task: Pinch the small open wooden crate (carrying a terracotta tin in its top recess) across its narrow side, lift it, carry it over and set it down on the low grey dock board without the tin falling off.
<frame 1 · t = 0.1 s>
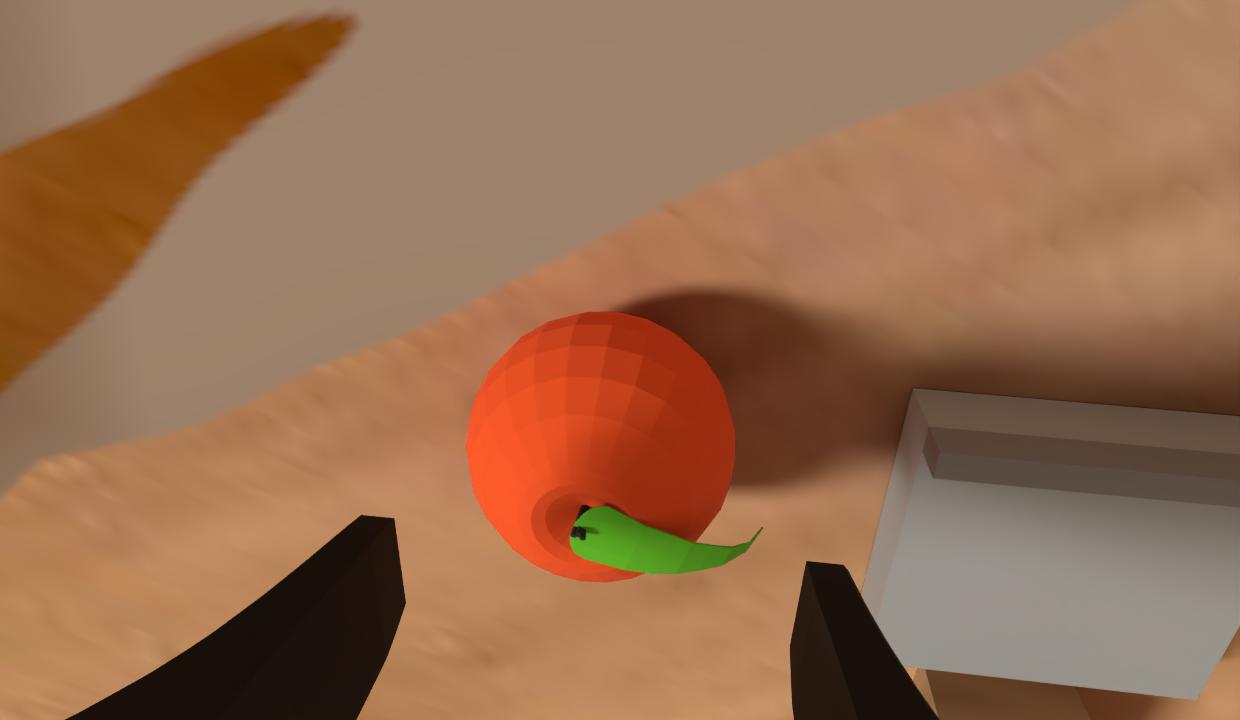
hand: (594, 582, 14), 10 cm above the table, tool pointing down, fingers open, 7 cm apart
dock: (1047, 527, 24), on the table
red fruit: (634, 381, 23), on the table
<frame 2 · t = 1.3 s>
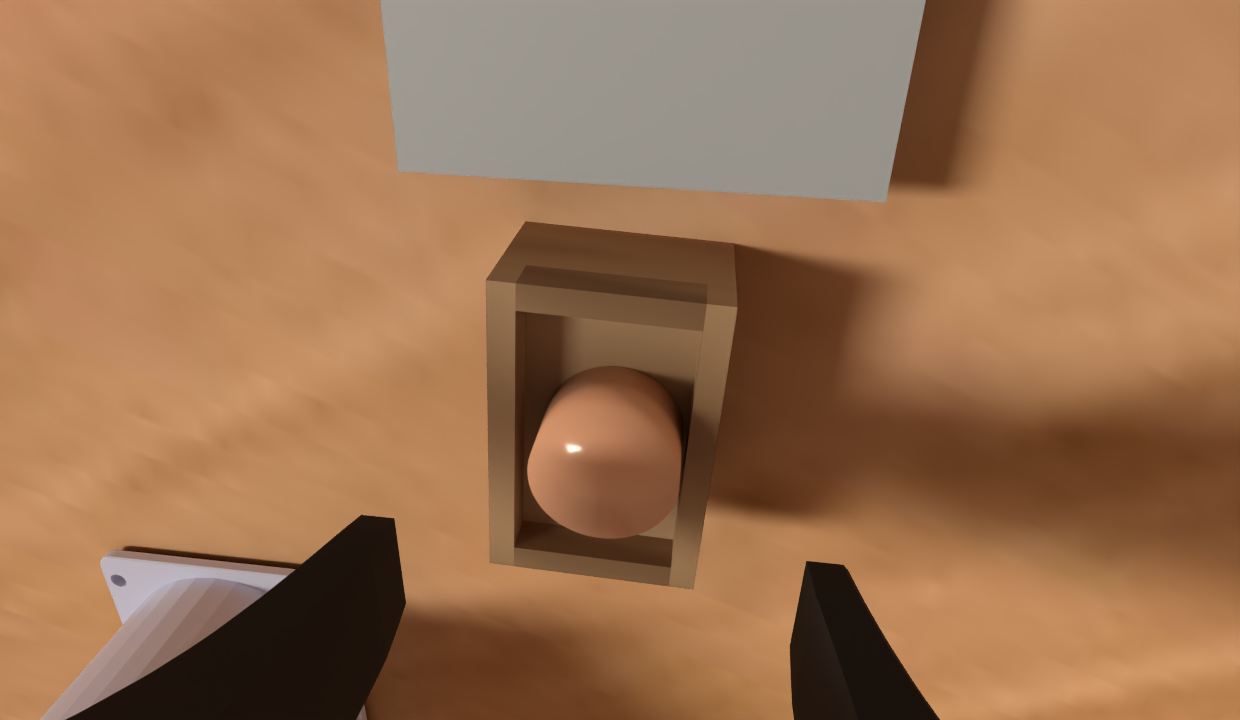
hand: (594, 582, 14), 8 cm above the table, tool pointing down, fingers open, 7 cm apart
open wooden crate: (619, 363, 21), on the table, touching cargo
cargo: (614, 426, 18), point 3 cm above the table, touching open wooden crate
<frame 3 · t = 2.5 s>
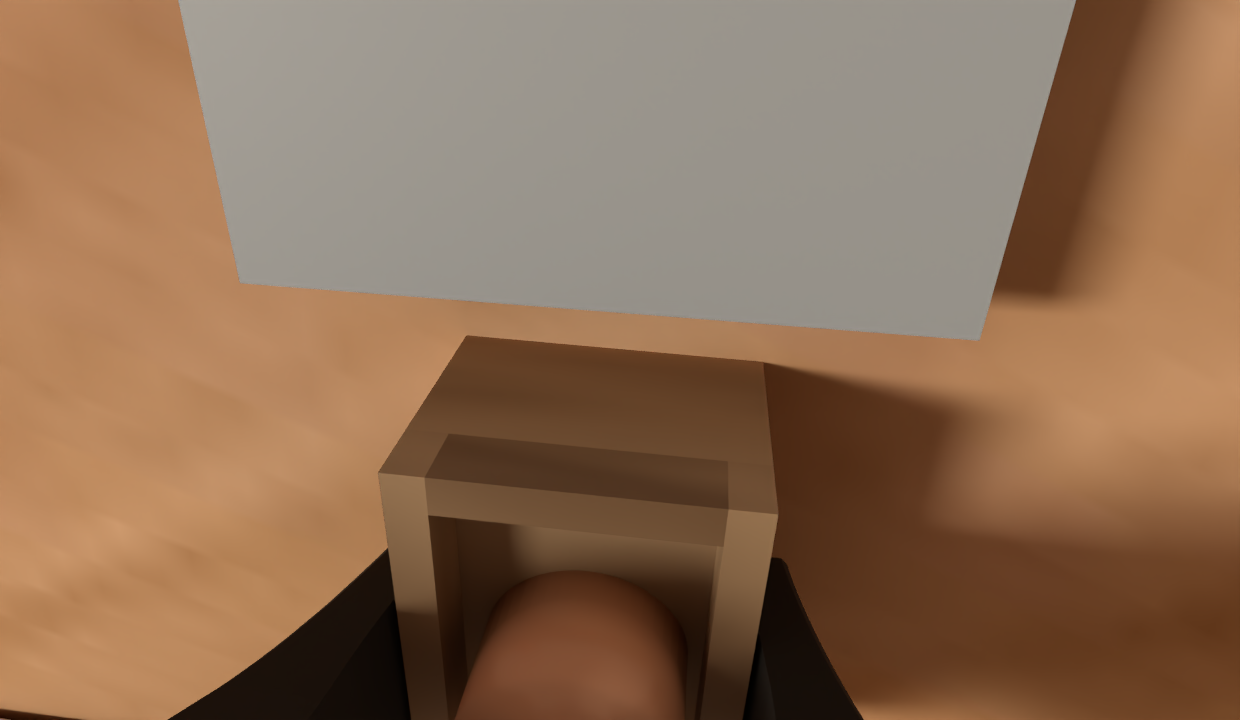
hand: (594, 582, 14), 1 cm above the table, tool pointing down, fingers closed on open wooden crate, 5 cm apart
open wooden crate: (606, 519, 15), on the table, touching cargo, gripper
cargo: (586, 646, 12), point 3 cm above the table, touching open wooden crate
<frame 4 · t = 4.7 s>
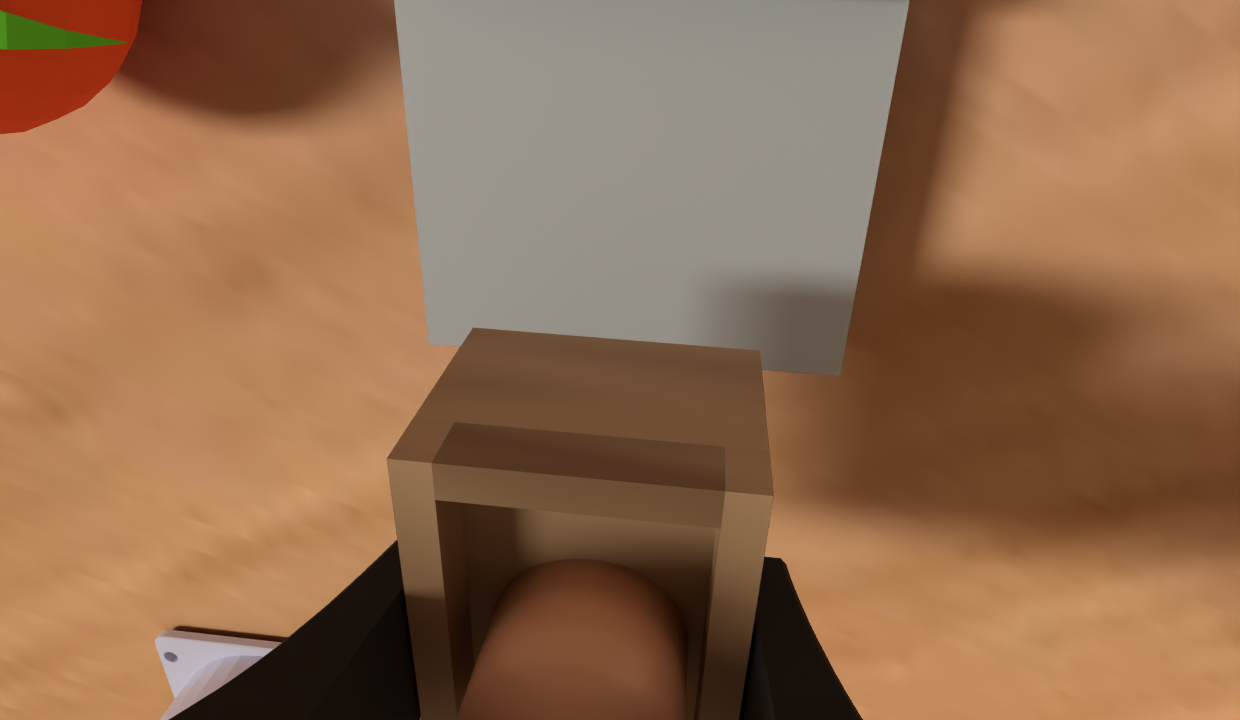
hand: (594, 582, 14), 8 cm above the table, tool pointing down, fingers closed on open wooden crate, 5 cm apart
open wooden crate: (608, 510, 15), point 7 cm above the table, touching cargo, gripper
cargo: (589, 633, 13), point 10 cm above the table, touching open wooden crate
dock: (644, 152, 18), on the table
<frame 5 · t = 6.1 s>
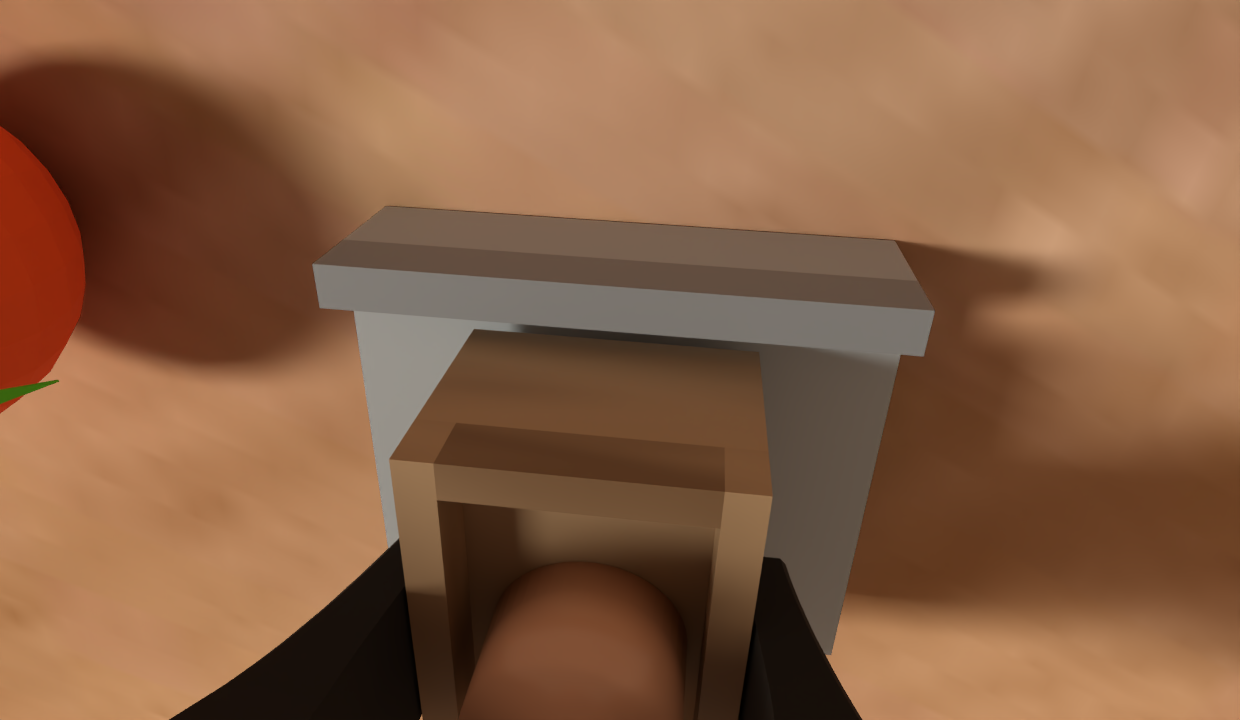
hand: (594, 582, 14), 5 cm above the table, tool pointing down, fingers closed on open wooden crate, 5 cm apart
open wooden crate: (608, 510, 15), point 3 cm above the table, touching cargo, gripper
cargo: (589, 635, 13), point 6 cm above the table, touching open wooden crate
dock: (625, 416, 17), on the table
red fruit: (37, 210, 17), on the table
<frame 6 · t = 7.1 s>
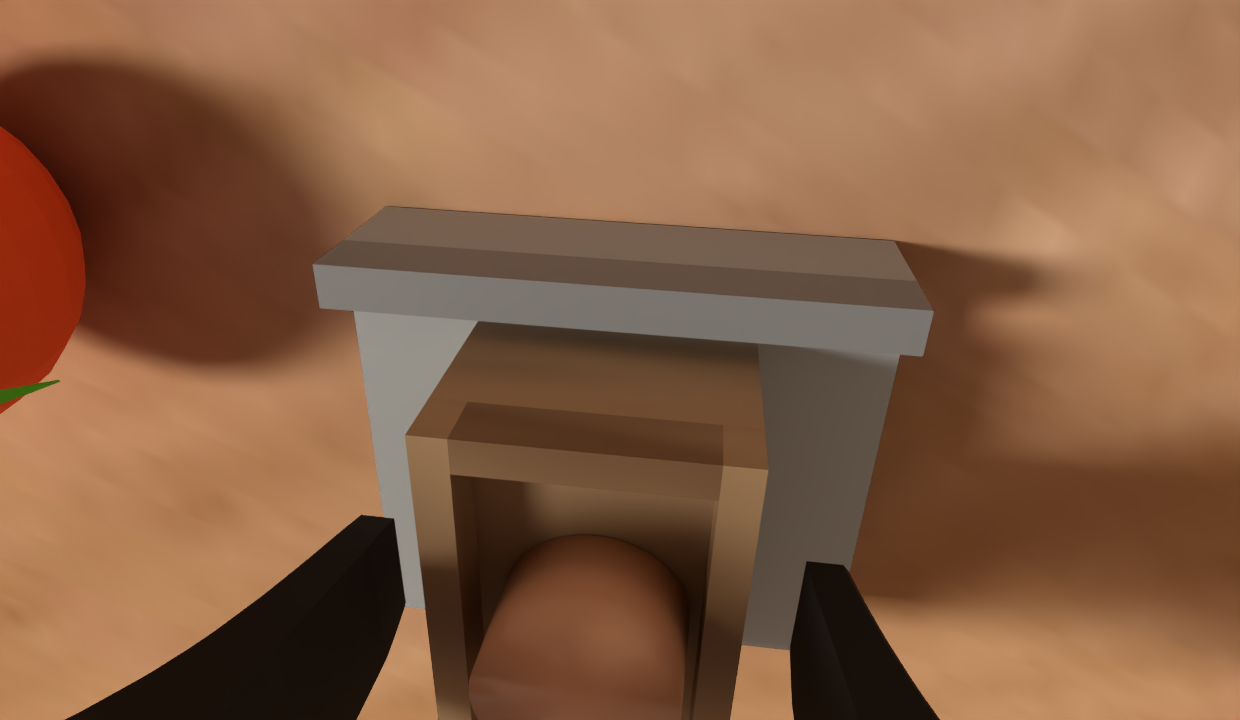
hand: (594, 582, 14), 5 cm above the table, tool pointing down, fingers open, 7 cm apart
open wooden crate: (611, 490, 16), point 2 cm above the table, touching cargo, dock
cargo: (596, 607, 13), point 5 cm above the table, touching open wooden crate
dock: (624, 416, 17), on the table
red fruit: (38, 210, 17), on the table
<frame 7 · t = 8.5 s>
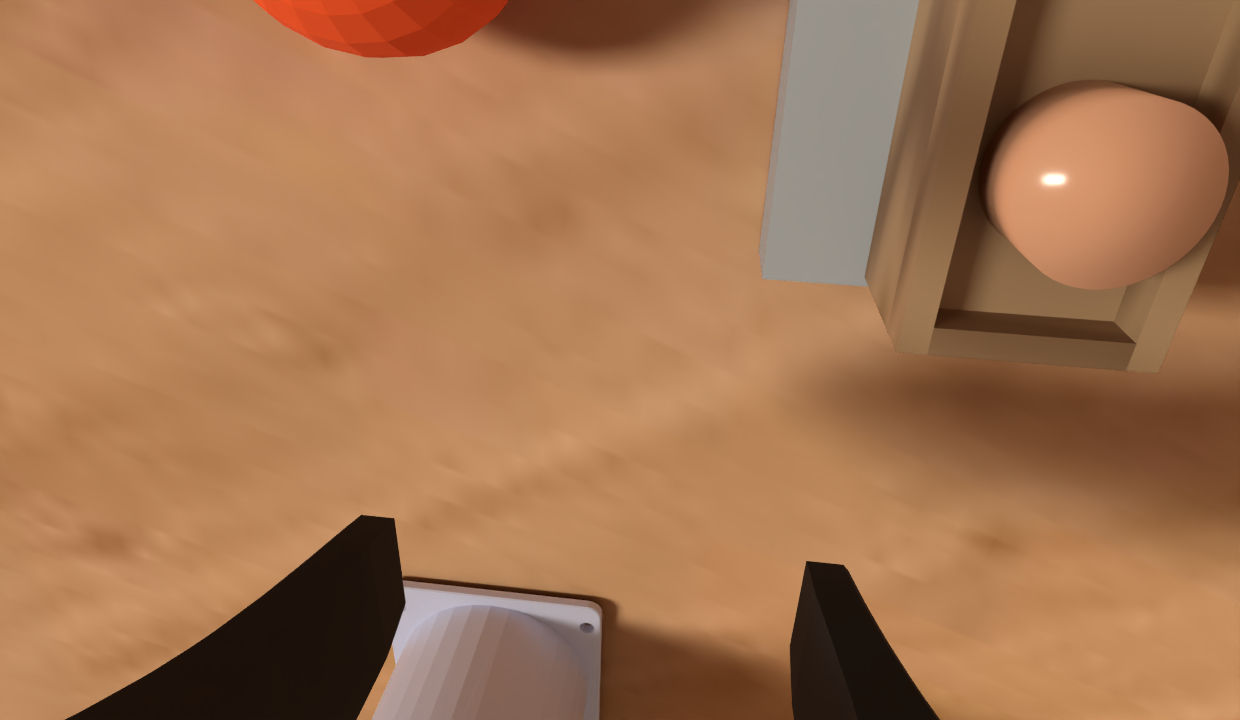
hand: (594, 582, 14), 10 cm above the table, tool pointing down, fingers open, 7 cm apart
open wooden crate: (1011, 127, 17), point 2 cm above the table, touching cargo, dock
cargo: (1068, 169, 14), point 5 cm above the table, touching open wooden crate
dock: (991, 87, 19), on the table
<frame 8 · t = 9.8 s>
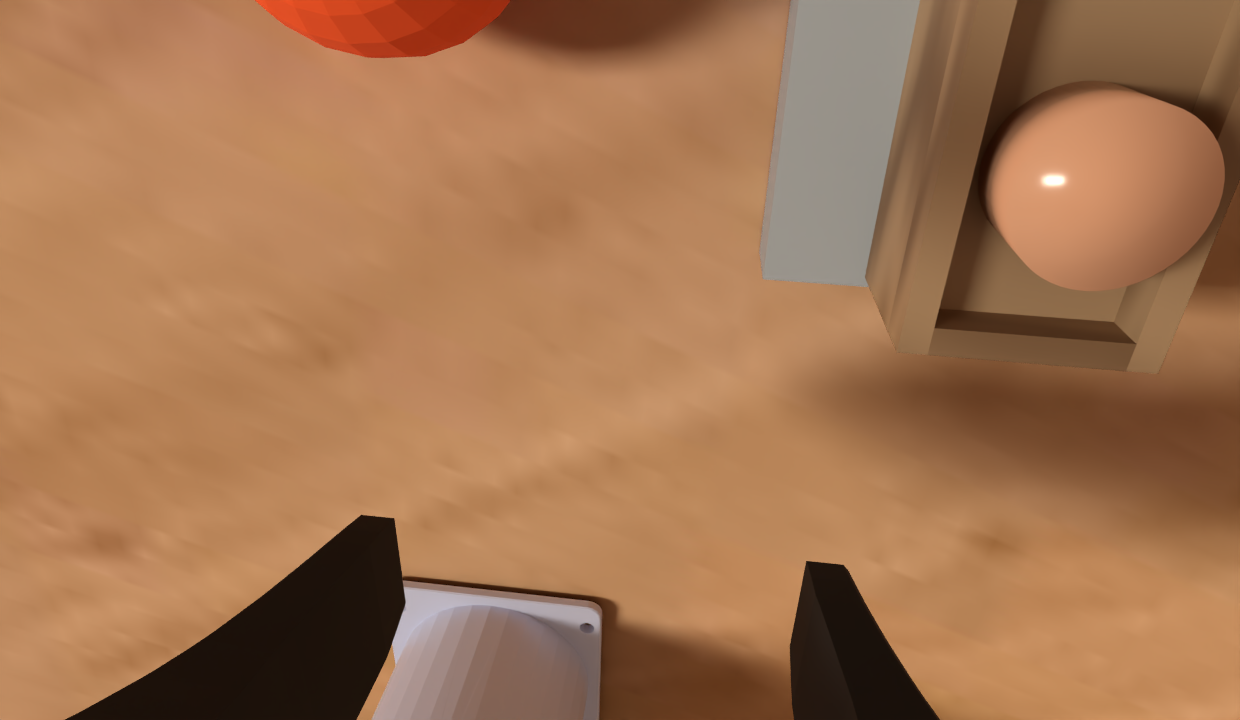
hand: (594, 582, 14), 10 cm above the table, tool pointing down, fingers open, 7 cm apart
open wooden crate: (1011, 127, 17), point 2 cm above the table, touching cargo, dock
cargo: (1069, 170, 15), point 5 cm above the table, touching open wooden crate
dock: (991, 88, 19), on the table
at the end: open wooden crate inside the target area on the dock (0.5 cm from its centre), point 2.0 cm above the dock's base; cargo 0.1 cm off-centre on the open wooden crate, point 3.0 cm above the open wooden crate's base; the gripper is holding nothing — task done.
